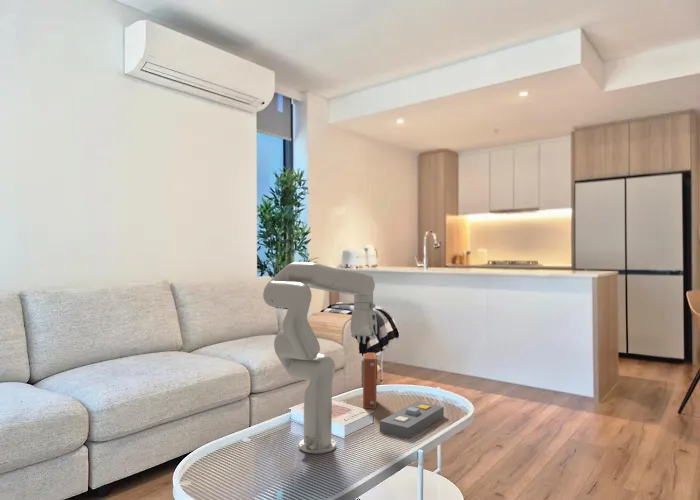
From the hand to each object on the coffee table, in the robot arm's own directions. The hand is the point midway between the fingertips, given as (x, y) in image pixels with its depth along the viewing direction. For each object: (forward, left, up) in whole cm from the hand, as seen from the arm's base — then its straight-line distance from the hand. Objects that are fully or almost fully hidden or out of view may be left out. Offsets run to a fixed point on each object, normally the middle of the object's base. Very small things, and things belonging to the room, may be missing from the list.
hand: (363, 353), depth 190 cm
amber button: (+14, -22, -26) cm, 36 cm away
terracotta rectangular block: (+24, +4, -27) cm, 37 cm away
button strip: (+5, -19, -27) cm, 33 cm away
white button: (-4, -16, -26) cm, 30 cm away
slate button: (+5, -19, -24) cm, 31 cm away
